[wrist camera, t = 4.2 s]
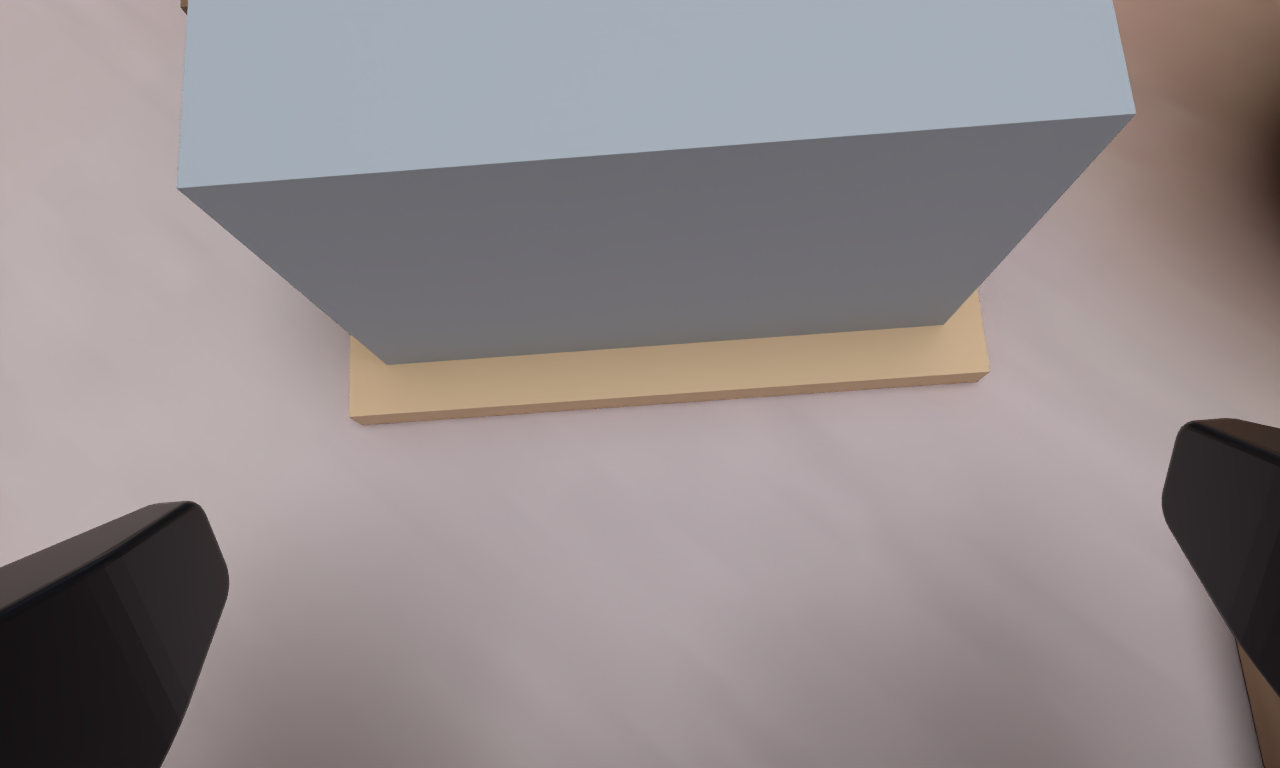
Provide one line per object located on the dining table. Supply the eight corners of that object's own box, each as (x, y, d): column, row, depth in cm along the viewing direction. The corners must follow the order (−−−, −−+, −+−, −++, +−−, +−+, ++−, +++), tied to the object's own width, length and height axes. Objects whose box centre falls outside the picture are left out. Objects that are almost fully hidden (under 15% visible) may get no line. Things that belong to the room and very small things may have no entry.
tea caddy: (974, 384, 19) (1222, 189, 10) (365, 427, 19) (106, 273, 11) (898, -114, 22) (1042, -595, 13) (369, -70, 22) (168, -510, 14)
